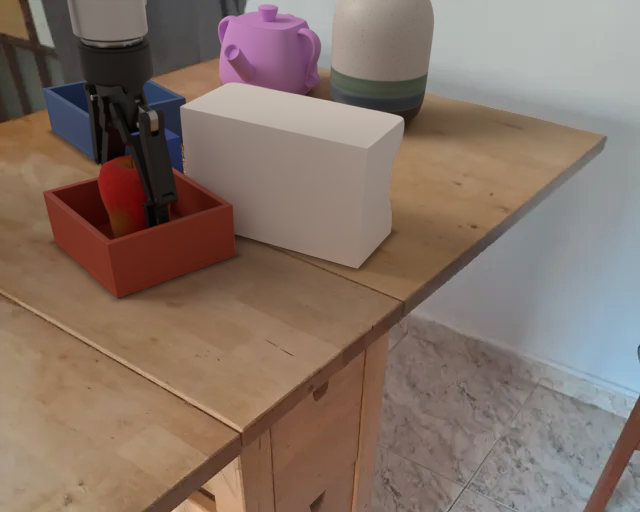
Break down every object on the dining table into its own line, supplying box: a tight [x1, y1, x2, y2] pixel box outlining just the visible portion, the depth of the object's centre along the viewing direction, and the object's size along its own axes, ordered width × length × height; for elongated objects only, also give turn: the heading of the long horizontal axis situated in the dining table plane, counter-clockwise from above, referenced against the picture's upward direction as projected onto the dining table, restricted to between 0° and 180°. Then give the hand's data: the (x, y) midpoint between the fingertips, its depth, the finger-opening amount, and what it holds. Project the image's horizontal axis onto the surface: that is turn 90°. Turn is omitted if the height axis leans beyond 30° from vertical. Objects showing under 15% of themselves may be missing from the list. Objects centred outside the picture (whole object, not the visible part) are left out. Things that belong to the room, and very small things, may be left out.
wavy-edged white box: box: [180, 83, 405, 270], centre depth 91 cm, size 25×18×15 cm
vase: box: [329, 0, 435, 126], centre depth 117 cm, size 17×17×24 cm
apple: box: [97, 154, 171, 239], centre depth 83 cm, size 9×8×12 cm
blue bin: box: [42, 79, 187, 161], centre depth 113 cm, size 17×17×7 cm
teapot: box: [217, 3, 322, 96], centre depth 130 cm, size 19×21×14 cm
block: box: [132, 128, 185, 175], centre depth 100 cm, size 5×5×7 cm
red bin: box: [42, 167, 237, 299], centre depth 85 cm, size 17×17×7 cm
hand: (143, 237), depth 87 cm, fingers closed on apple, 8 cm apart
